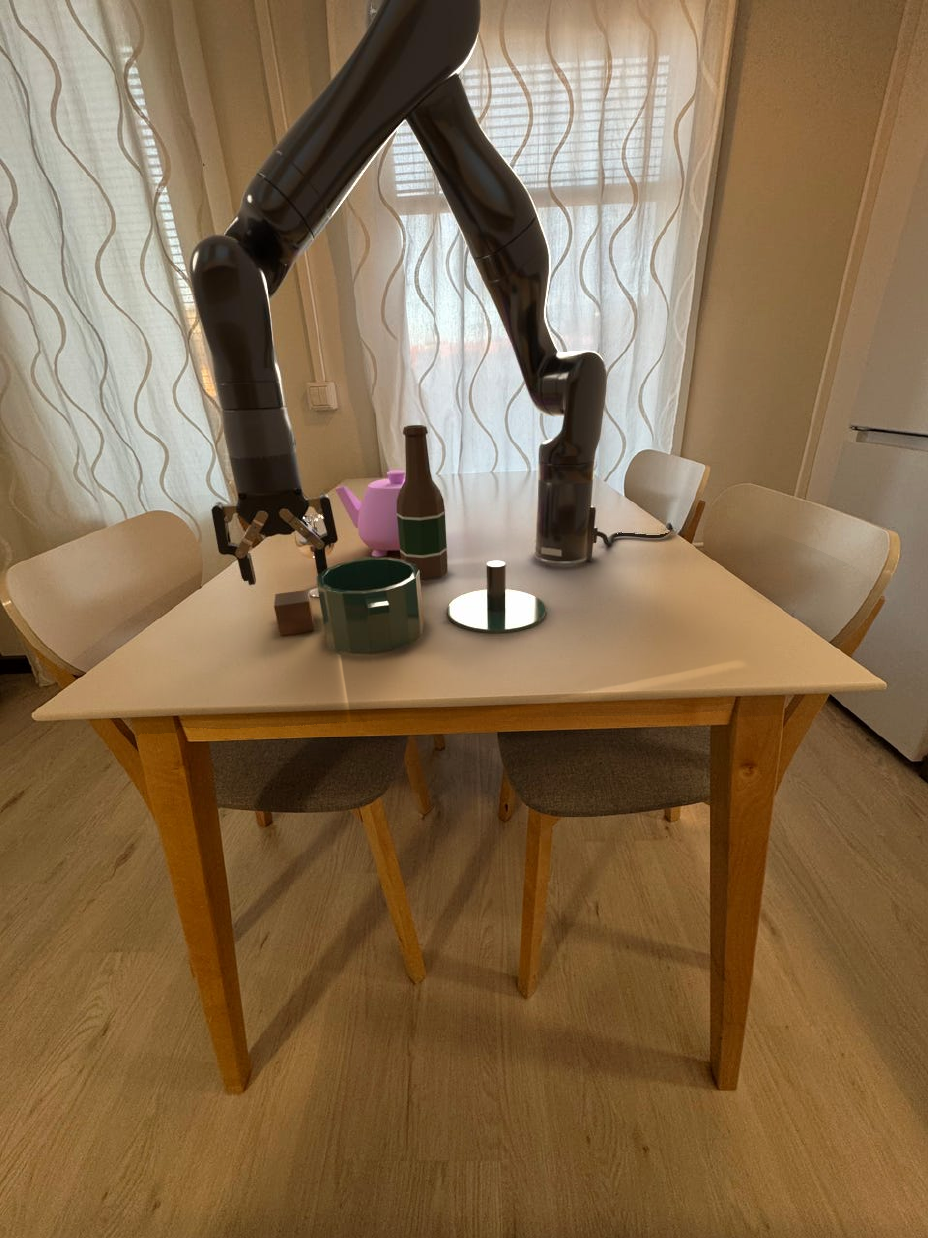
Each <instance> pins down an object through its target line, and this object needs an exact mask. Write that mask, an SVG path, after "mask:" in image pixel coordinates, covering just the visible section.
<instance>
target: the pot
mask: <svg viewBox="0 0 928 1238" xmlns="http://www.w3.org/2000/svg"><path fill="white" fill-rule="evenodd" d="M315 579H316V588H318V594H319V597H318V599H319V605H320V610H321V617H322V622H323V628H324V633H325V639H326V644H327V645H328V648H330V649H331V650H332V651H334V653H337V654H340V655H341V652H344V653H349V654H352V655H374V654H381V653H386V652H393V651H395V650H398V649H401V648H403V647H406V646H408V645H410V644H411V643H412V642H414V641H416V640H417V639H418V638H419V637H421V635H422V634H423V633H422V632H423V630H424V628H425V624H424V612H423V599H422V597H423V596H422V585H421V580H420V571H419V569H418V568H417V566H416V565H415V564H413V563H410V562H408V561H406V560H401V558H394V557H370V556H365V557H364V556H363V557H357V558H356V557H355V558H353V559H352V560H348V561H343V562H339V563H336V564H333V565H332V566H329V567H327V569H325V570H323V571H322V572H321V573H320V574H319V575H318V574H317V576H316V578H315Z"/></svg>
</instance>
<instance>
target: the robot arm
mask: <svg viewBox="0 0 928 1238" xmlns="http://www.w3.org/2000/svg"><path fill="white" fill-rule="evenodd" d="M364 9H365V10H364V20H365V21H364V22H365V23H364V24H365V32H364V34H363V35H362V37H361V39H360V40H359V42H358V43H357V45H356V47H354V50H353V51H352V52H351V54H350V55H349V57H348V58H347V60H346V61H345V62H344V63H343V65H342V67H341V68H340V69H339V70H338V72H337V73H336V74H335V75H334V77H333V78H332V79H331V80H330V81H329V82H328V84H327V85H326V86H324V89H322V90H321V92H320V93H319V94H318V95H317V96H316V97H315V98H314V99H313V100H312V101H311V103H310V104H309V105H308V106H307V107H306V108H305V109H304V110H303V112H302V113H301V114H300V115H299V116H298V117H297V119H295V121H294V122H293V124H291V125H290V127H289V128H288V129H287V130H286V132H284V133H283V135H282V136H281V138H280V139H279V140H278V142H277V143H276V144H275V146H274V147H273V149H272V150H271V152H270V153H269V154H268V155H267V156H266V158H265V160H264V161H263V162H262V164H261V165H260V167H259V168H258V169H257V171H256V172H255V174H254V175H253V176H252V178H251V179H250V181H249V182H248V184H247V186H246V188H245V189H244V192H243V194H242V197H241V200H240V201H241V202H240V205H239V209H238V211H237V213H236V214H235V216H234V218H233V219H232V220H231V221H230V223H229V224H228V226H227V227H226V229H225V230H224V231H223V233H222V234H211V235H208V236H206V237H204V238H202V239H201V240H200V241H199V242H198V243H197V244H196V245H195V247H194V249H193V250H192V252H191V254H190V258H189V264H188V274H189V281H190V286H191V289H192V292H193V297H194V302H195V305H196V308H197V313H198V316H199V319H200V323H201V326H202V329H203V333H204V337H205V339H206V343H207V347H208V349H209V352H210V357H211V364H212V371H213V372H212V373H213V377H214V383H215V388H216V393H217V397H218V402H219V405H220V410H221V411H220V413H221V418H222V430H223V435H224V440H225V445H226V450H227V454H228V458H229V463H230V467H231V468H230V469H231V472H232V476H233V477H232V478H233V482H234V486H235V490H236V494H237V502H236V503H227V504H226V503H225V504H224V503H223V502H221V501H218V502H216V503H215V504H214V505H213V506H212V507H211V517H212V521H213V527H214V532H215V533H214V534H215V538H216V544H217V550H218V552H219V554H221V555H222V556H227V555H228V556H233V557H235V558H236V560H237V562H238V567H239V572H240V577H241V579H242V580H243V582H247V583H248V585H249V586H253V585H254V586H255V585H256V583H257V578H256V572H255V568H254V564H253V558H252V555H251V552H249V551H250V549H251V547H252V545H253V544H254V543H255V540H256V539H257V538H258V535H260V536H263V537H264V538H270V537H275V536H276V535H280V536H281V535H282V536H286V535H287V536H289V535H292V534H293V533H295V531H297V532H298V533H299V534H300V535H301V536H303V537H304V538H305V539H307V540H308V541H309V542H310V543H311V544H312V545H313V549H314V556H315V559H314V562H315V568H316V574H317V576H318V575H319V574H320V573H321V572H322V571H323V570H325V569H327V568H328V563H327V556H326V555H325V547H326V546H327V545H329V544H331V543H334V544H337V542H338V541H339V538H338V537H339V536H338V532H337V528H336V523H335V519H334V512H333V508H332V504H331V499H330V496H329V494H328V493H321V494H320V495H318V496H313V497H311V496H310V497H307V496H306V494H305V492H304V490H303V485H302V477H301V471H300V466H299V461H298V454H297V448H296V445H297V444H296V439H295V436H294V431H293V426H292V423H291V419H290V415H289V412H288V408H287V402H286V396H285V389H284V384H283V378H282V374H281V370H280V366H279V363H278V359H277V356H276V351H275V341H274V332H273V324H272V315H271V306H270V304H271V302H272V300H273V299H274V297H275V296H276V294H277V292H278V291H279V290H280V288H281V286H282V284H283V282H284V281H285V280H286V278H287V276H288V275H289V273H290V271H291V269H292V268H293V266H294V265H295V263H296V262H297V261H298V260H299V259H300V257H302V255H303V254H304V253H306V251H307V250H308V249H309V248H310V247H311V245H312V244H313V243H314V241H315V240H316V239H317V238H318V236H319V235H320V233H321V232H322V231H323V230H324V228H325V227H326V226H327V224H328V223H329V221H330V220H331V218H332V217H333V216H334V214H335V213H336V212H337V210H338V209H339V207H340V206H341V205H342V204H343V202H344V200H346V198H347V196H348V195H349V193H351V191H352V190H353V188H354V186H356V184H357V182H358V181H359V180H360V179H361V177H362V175H363V174H364V172H365V171H366V170H367V168H368V167H369V165H370V164H371V163H372V161H373V160H374V159H375V158H376V156H377V154H378V153H379V152H380V151H381V150H382V148H383V147H384V146H385V145H386V144H387V142H388V141H389V140H390V138H392V136H393V135H394V134H395V132H396V131H397V130H398V129H399V128H400V127H401V125H402V124H403V123H404V122H405V121H406V123H407V125H408V127H409V128H410V130H411V132H412V134H413V136H414V137H415V139H416V141H417V144H418V145H419V146H420V149H421V150H422V152H423V154H424V155H425V158H426V159H427V161H428V163H429V165H430V168H431V170H432V171H433V172H432V173H433V174H434V175H435V179H436V181H437V182H438V185H439V187H440V190H441V192H442V194H443V196H444V198H445V200H446V203H447V205H448V208H449V210H450V212H451V214H452V216H453V219H454V220H455V222H456V224H457V226H458V229H459V231H460V233H461V235H462V238H463V240H464V242H465V244H466V248H467V250H468V253H469V254H470V257H471V259H472V261H473V263H474V265H475V267H476V270H477V272H478V274H479V276H480V278H481V280H482V282H483V284H484V286H485V288H486V290H487V292H488V294H489V296H490V298H491V300H492V303H493V304H494V305H493V306H494V307H495V309H496V312H497V314H498V317H499V318H500V321H501V323H502V326H503V328H504V330H505V332H506V335H507V337H508V340H509V342H510V344H511V347H512V350H513V353H514V355H515V358H516V361H517V364H518V366H519V369H520V373H521V376H522V379H523V381H524V384H525V388H526V390H527V393H528V395H529V398H530V400H531V402H532V403H533V405H534V407H535V408H536V410H538V411H539V413H541V414H542V415H545V416H549V417H559V418H560V417H562V419H563V420H562V426H561V429H560V431H559V432H558V434H556V435H555V436H554V437H551V438H549V439H547V440H544V441H542V442H541V443H540V445H539V447H538V457H537V458H538V460H537V461H538V462H537V464H538V465H537V493H536V494H537V498H536V500H537V501H536V524H535V525H536V526H535V527H536V528H535V530H536V531H535V548H534V549H535V551H534V558H535V559H536V560H537V561H538V562H541V563H543V564H545V565H546V564H547V565H553V566H574V565H579V564H582V563H585V562H590V561H591V562H592V561H593V551H594V544H597V542H598V541H597V540H598V537H600V538H601V539H602V540H603V544H604V545H605V546H607V547H609V546H611V545H612V543H613V540H614V539H616V538H620V537H629V538H630V537H631V538H638V539H639V538H641V539H662V538H665V537H667V536H668V535H669V534H670V532H668V533H665V534H660V535H646V534H647V533H645V534H635V533H636V532H634V533H622V532H623V531H618V532H614V533H612V534H610V536H608V535H607V534H605V533H604V532H602V531H599V527H598V526H596V525H595V524H596V513H597V509H596V508H597V507H595V506H593V505H592V501H593V488H594V474H595V462H596V461H595V460H596V453H597V449H598V446H599V443H600V440H601V434H602V429H603V419H604V412H605V404H606V397H607V387H608V386H607V385H608V384H607V383H608V378H607V377H608V376H607V370H606V369H607V368H606V363H605V361H604V359H603V358H602V356H601V355H600V354H599V353H597V352H596V351H593V350H592V351H591V350H582V351H581V350H579V351H567V352H560V351H559V349H558V348H557V346H556V343H555V342H554V339H553V337H552V334H551V331H550V329H549V326H548V321H547V315H546V307H547V301H548V295H549V294H548V293H549V287H550V281H551V279H550V278H551V268H552V267H551V265H552V264H551V261H552V260H551V252H550V248H549V243H548V240H547V237H546V235H545V232H544V229H543V226H542V223H541V221H540V218H539V217H540V216H539V214H538V212H537V210H536V206H535V204H534V201H533V200H532V197H531V195H530V193H529V192H528V190H527V187H526V186H525V185H524V183H523V182H522V180H521V179H520V177H519V176H518V175H517V173H516V172H515V171H514V170H513V168H512V167H511V166H510V164H509V163H508V162H507V160H506V159H505V158H504V157H503V155H501V153H500V152H499V151H498V150H497V148H496V147H495V146H494V144H493V143H492V142H491V140H490V139H489V137H488V136H487V135H486V133H485V132H484V130H483V128H482V127H481V125H480V123H479V121H478V119H477V117H476V115H475V112H474V110H473V108H472V106H471V104H470V103H471V102H470V101H469V98H468V96H467V93H466V90H465V87H464V84H463V82H462V79H461V77H460V72H461V71H462V69H464V67H465V65H466V64H467V63H468V61H469V60H470V58H471V56H472V54H473V51H474V49H475V46H476V43H477V40H478V36H479V33H480V27H481V19H482V18H481V17H482V0H366V1H365V7H364ZM310 507H311V508H313V509H314V510H315V512H316V514H323V517H324V522H325V526H326V531H327V532H326V533H324V534H322V535H320V534H318V533H317V532H316V531H315V530H314V529H313V528H312V526H311V525H310V524H309V523H308V522H307V521H306V520H305V519H304V516H305V515H307V512H308V510H309V508H310ZM235 514H237V515H238V516H239V517H240V518H241V519H242V520H243V521H244V522H245V523H247V525H248V527H247V528H246V530H245V532H244V534H243V536H242V538H241V539H240V541H239V543H237V542H232V539H231V538H232V537H231V532H230V528H229V527H230V526H229V524H230V523H231V522H232V521H233V518H234V515H235ZM666 528H667V529H668V530H670V531H671V530H674V527H673V525H672V523H671V522H667V523H666V525H665V529H666ZM617 533H618V534H617Z"/></svg>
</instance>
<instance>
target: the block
mask: <svg viewBox="0 0 928 1238" xmlns="http://www.w3.org/2000/svg"><path fill="white" fill-rule="evenodd" d="M309 592H310V589H303V590H296V591H288V592H287V591H286V592H279V593H275V595H274V602H273V603H274V604H273V609H274V614H275V618H276V622H277V628H278V632H279V636H280V637H284V636H289V635H297V634H304V633H308V632H309V633H311V632H314V631H315V622H314V621H315V620H314V619H315V618H314V612H313V607H312V602H311V595H310V594H309Z"/></svg>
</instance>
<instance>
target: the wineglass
mask: <svg viewBox="0 0 928 1238" xmlns="http://www.w3.org/2000/svg"><path fill="white" fill-rule="evenodd" d="M304 519H305V520H306V521H307V522H308V523H309V524H310V525H311V526H312V528H313V529H314V530H315V531H316V532H317V533H318V534H320V535H322V534H324V533H326V532H327V531H326V526H325V522H324V517H323V514H318V513H311V514H305V516H304ZM294 543H295V546H296V549H297V551H298V553H300V555H302V557H305V558H308V559H312V560H315V556H314V549H313V545H312V544H311V543H310V542H309V541H308V540H307V539H305V538H304V537H303V536H301V535H300V534H299V533H298V532H297V531H295V532H294ZM334 547H335V543H331V544H329V545H327V546H326V547H325V555H326V557H327V556H329V555H330V554H331V553H332V552H333V550H334ZM309 596H310V597H314V598H319V594H318V588H317V587H314V588H312V589H310V590H309Z"/></svg>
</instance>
